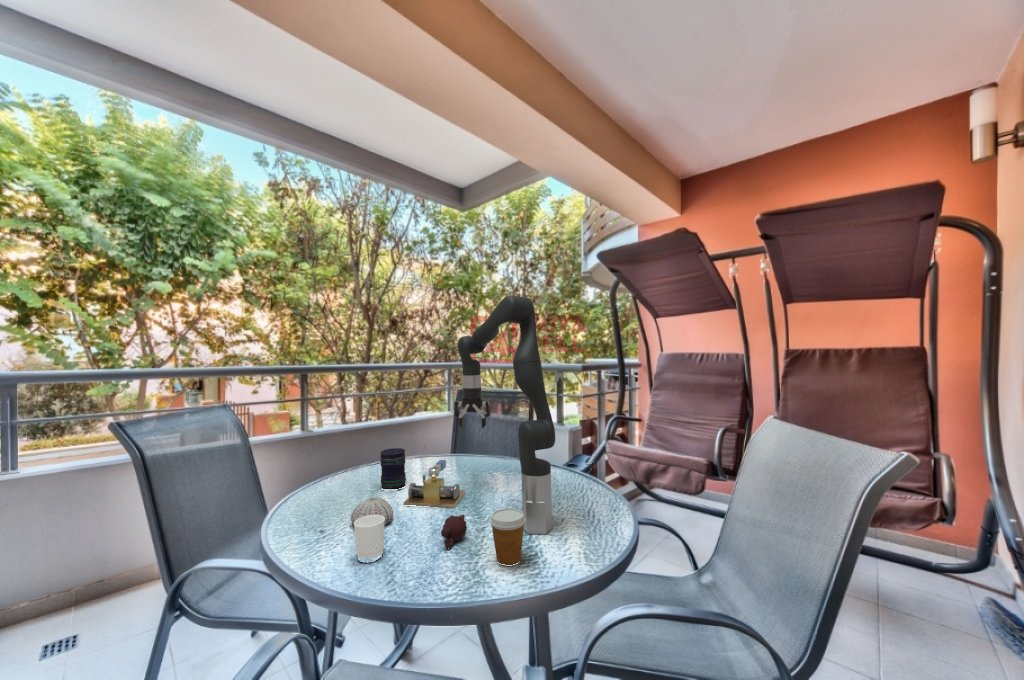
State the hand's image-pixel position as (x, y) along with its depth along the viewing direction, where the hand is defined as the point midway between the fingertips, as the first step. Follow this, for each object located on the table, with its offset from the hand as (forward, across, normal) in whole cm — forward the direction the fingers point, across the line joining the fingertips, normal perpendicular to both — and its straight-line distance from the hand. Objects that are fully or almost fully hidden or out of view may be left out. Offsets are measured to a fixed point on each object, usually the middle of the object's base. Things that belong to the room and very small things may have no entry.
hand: (472, 427), depth 161 cm
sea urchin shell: (+25, -25, -32) cm, 48 cm away
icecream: (+25, +5, -40) cm, 47 cm away
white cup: (+25, -15, -53) cm, 60 cm away
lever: (+16, -12, -7) cm, 21 cm away
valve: (+25, -12, -11) cm, 30 cm away
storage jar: (+26, -34, 0) cm, 43 cm away
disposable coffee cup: (+25, +23, -50) cm, 60 cm away
